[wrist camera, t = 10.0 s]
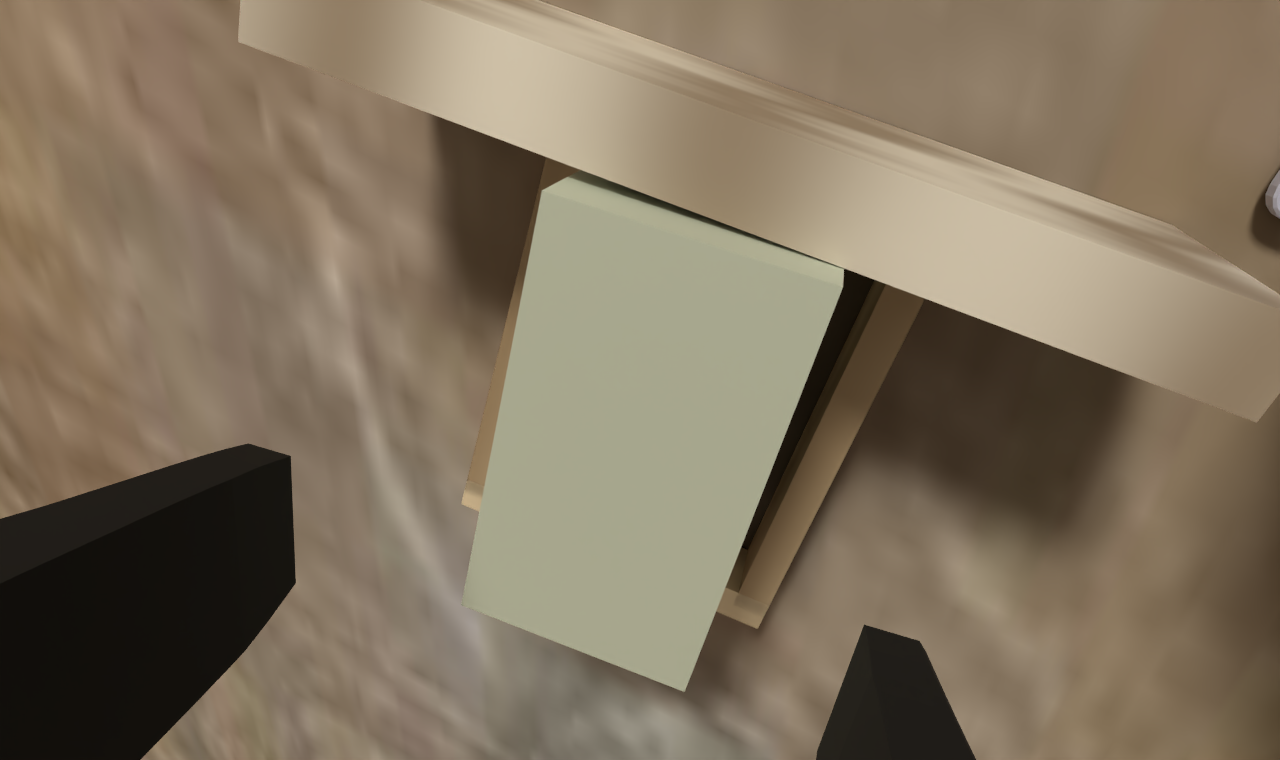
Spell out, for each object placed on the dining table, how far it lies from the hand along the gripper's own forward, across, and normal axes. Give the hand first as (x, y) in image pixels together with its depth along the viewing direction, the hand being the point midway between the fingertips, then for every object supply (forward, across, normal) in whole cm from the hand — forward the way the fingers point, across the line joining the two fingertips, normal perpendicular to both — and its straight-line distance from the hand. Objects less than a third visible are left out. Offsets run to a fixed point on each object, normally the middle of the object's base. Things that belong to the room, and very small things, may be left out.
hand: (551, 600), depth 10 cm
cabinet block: (+10, 0, 0) cm, 11 cm away
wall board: (+10, 0, 0) cm, 10 cm away
